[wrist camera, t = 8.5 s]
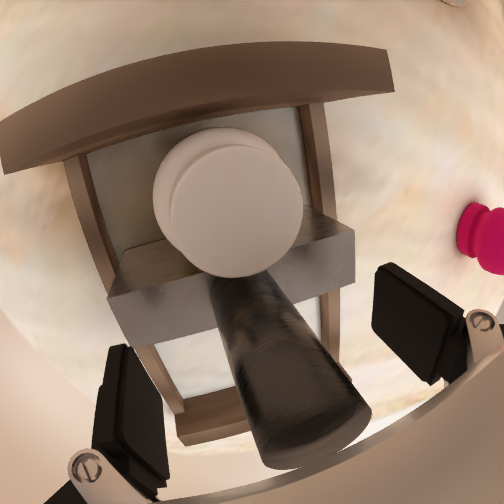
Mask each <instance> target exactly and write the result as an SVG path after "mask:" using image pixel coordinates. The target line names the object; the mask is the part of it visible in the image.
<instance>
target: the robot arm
mask: <svg viewBox="0 0 504 504" xmlns="http://www.w3.org/2000/svg"><path fill="white" fill-rule="evenodd" d="M443 1H444V2H446V3H448V4H450V5H453V6H461V5H465V4H466V3H467V0H443ZM463 313H464V310H463V309H462V308H460V307H459V306H458V305H456V304H455V303H453V302H452V301H450V300H449V299H448V298H446V297H445V296H443V295H442V294H440V293H439V292H437V291H436V290H434V289H433V288H431V287H430V286H428V285H427V284H425V283H424V282H422V281H421V280H419V279H418V278H416V277H415V276H413V275H412V274H410V273H409V272H407V271H405V270H404V269H402V268H401V267H399V266H398V265H396V264H394V263H392V262H389V263H387V264H384V265H381V266H379V267H378V269H377V271H376V273H375V281H374V298H373V311H372V322H371V326H372V329H373V331H374V332H375V333H376V334H377V335H378V336H379V337H380V338H381V339H382V340H383V341H384V342H385V343H386V345H387V346H388V347H389V348H390V349H391V350H392V351H393V352H394V353H395V354H396V355H397V356H398V357H399V358H400V359H401V360H402V361H403V362H404V363H405V364H406V365H407V366H408V367H409V368H410V369H411V370H412V371H413V372H414V373H415V374H416V375H417V376H418V377H419V378H420V379H421V380H422V381H424V382H427V383H428V384H429V385H430V386H431V385H433V384H434V383H436V382H437V381H438V380H440V378H441V377H442V378H443V379H444V389H443V390H442V391H441V392H439V393H438V394H436V395H435V396H434V397H432V398H431V399H429V400H428V401H427V402H425V403H424V404H422V405H421V406H419V407H418V408H416V409H415V410H414V411H412V412H410V413H409V414H407V415H406V416H404V417H402V418H401V419H399V420H397V421H396V422H394V423H393V424H391V425H389V426H387V427H386V428H384V429H382V430H381V431H379V432H377V433H375V434H373V435H372V436H370V437H368V438H366V439H364V440H362V441H360V442H358V443H356V444H354V445H352V446H350V447H348V448H346V449H344V450H342V451H339V452H337V453H335V454H333V455H330V456H328V457H326V458H324V459H321V460H319V461H316V462H314V463H311V464H309V465H306V466H304V467H301V468H298V469H296V470H293V471H290V472H287V473H284V474H281V475H278V476H275V477H272V478H269V479H266V480H262V481H259V482H256V483H252V484H248V485H244V486H240V487H236V488H232V489H227V490H223V491H219V492H214V493H209V494H205V495H199V496H193V497H186V498H179V499H173V500H167V501H162V500H160V499H159V498H158V497H157V495H158V492H157V488H164V487H167V484H166V480H168V479H169V478H170V473H169V465H168V457H167V448H166V438H165V428H164V415H163V402H162V398H161V395H160V393H159V392H158V390H157V388H156V387H155V385H154V384H153V382H152V380H151V379H150V377H149V375H148V374H147V372H146V370H145V369H144V367H143V365H142V363H141V362H140V360H139V358H138V356H137V355H136V353H135V351H134V349H133V348H132V347H131V346H129V347H128V346H127V345H126V344H119V345H115V346H111V347H110V348H109V351H108V356H107V361H106V367H105V372H104V378H103V384H102V385H101V386H100V387H99V391H98V397H97V403H96V410H95V418H94V426H93V436H92V446H91V449H83V450H80V451H78V452H77V453H75V454H74V455H73V456H72V457H71V459H70V461H69V464H68V475H69V477H70V480H69V481H68V482H67V483H66V484H65V485H64V486H62V487H61V488H60V489H59V490H58V491H57V492H56V493H55V494H54V495H53V496H52V497H50V498H49V499H48V500H47V501H46V502H45V503H44V504H504V324H498V321H497V319H496V317H495V316H494V315H493V314H492V313H490V312H488V311H486V310H482V309H475V310H472V311H470V312H469V313H468V314H467V316H466V318H464V317H463Z"/></svg>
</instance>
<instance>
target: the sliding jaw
mask: <svg viewBox="0 0 504 504" xmlns="http://www.w3.org/2000/svg"><path fill="white" fill-rule="evenodd" d="M352 283H355V231H354V230H353V229H351V228H350V227H348V226H346V225H344V224H342V223H340V222H338V221H336V220H334V219H332V218H331V217H329V216H327V215H325V214H323V213H321V212H319V211H317V210H315V209H313V208H311V207H309V206H307V205H305V204H303V216H302V221H301V226H300V229H299V232H298V235H297V237H296V239H295V241H294V243H293V244H292V246H291V247H290V249H289V250H288V251H287V253H286V254H285V255H284V256H283V257H282V258H281V259H280V260H279V261H277V262H276V263H275V264H274V265H272V266H271V267H269V268H268V269H266V270H264V271H262V272H259V273H257V274H254V275H250V276H247V277H239V278H226V277H220V276H215V275H212V274H209V273H207V272H205V271H203V270H201V269H199V268H198V267H196V266H195V265H194V264H192V263H191V262H190V261H189V260H188V259H187V258H186V257H185V256H184V255H183V253H182V252H181V251H179V250H178V249H177V248H176V247H175V246H173V245H172V244H171V243H170V242H169V240H168V239H163V240H160V241H156V242H153V243H149V244H146V245H142V246H139V247H135V248H132V249H128V250H125V251H124V254H123V256H122V259H121V261H120V264H119V266H118V269H117V272H116V274H115V277H114V280H113V282H112V285H111V288H110V291H109V294H108V297H107V301H108V303H109V305H110V307H111V309H112V311H113V313H114V315H115V318H116V320H117V322H118V324H119V326H120V328H121V330H122V332H123V333H124V335H125V337H126V339H127V341H128V343H129V345H130V346H131V347H132V348H133V349H135V348H139V347H144V346H148V345H152V344H156V343H160V342H164V341H168V340H172V339H176V338H180V337H184V336H188V335H192V334H195V333H199V332H203V331H206V330H210V329H214V328H217V327H218V329H219V332H220V336H221V339H222V343H223V346H224V349H225V353H226V356H227V359H228V362H229V366H230V369H231V372H232V375H233V378H234V381H235V384H236V387H237V391H238V394H239V397H240V400H241V403H242V406H243V409H244V411H245V414H246V417H247V420H248V423H249V426H250V429H251V432H252V434H253V437H254V440H255V443H256V445H257V448H258V451H259V454H260V456H261V459H262V461H263V463H264V465H265V466H267V467H269V468H272V469H277V470H288V469H295V468H300V467H304V466H306V465H309V464H311V463H314V462H316V461H319V460H321V459H324V458H326V457H328V456H330V455H333V454H335V453H337V452H338V451H340V450H342V449H343V448H345V447H346V446H347V445H349V444H350V443H351V442H352V441H353V440H355V439H356V438H357V437H358V436H359V435H360V434H361V433H362V432H363V430H364V429H365V428H366V426H367V425H368V423H369V421H370V419H371V415H372V411H371V408H370V407H369V405H368V404H367V403H366V401H365V400H364V399H363V397H362V396H361V395H360V393H359V392H358V391H357V389H356V388H355V387H354V385H353V384H352V383H351V381H350V380H349V379H348V377H347V376H346V375H345V373H344V372H343V371H342V369H341V368H340V367H339V365H338V364H337V363H336V361H335V360H334V359H333V357H332V356H331V355H330V353H329V352H328V351H327V349H326V348H325V347H324V345H323V344H322V343H321V341H320V340H319V339H318V337H317V336H316V335H315V333H314V332H313V331H312V329H311V328H310V327H309V325H308V324H307V323H306V321H305V320H304V319H303V317H302V316H301V315H300V313H299V312H298V311H297V309H296V308H295V307H294V305H293V304H295V303H298V302H301V301H304V300H307V299H310V298H313V297H316V296H319V295H321V294H324V293H327V292H330V291H333V290H336V289H338V288H341V287H344V286H346V285H349V284H352Z"/></svg>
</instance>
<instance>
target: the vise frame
mask: <svg viewBox="0 0 504 504" xmlns="http://www.w3.org/2000/svg"><path fill="white" fill-rule="evenodd" d="M389 92H395V90H394V84H393V79H392V73H391V68H390V63H389V59H388V54H387V50H384V49H378V48H372V47H365V46H357V45H348V44H337V43H323V42H256V43H242V44H231V45H222V46H214V47H207V48H200V49H194V50H188V51H183V52H178V53H173V54H168V55H164V56H159V57H155V58H151V59H147V60H143V61H139V62H136V63H132V64H129V65H125V66H122V67H119V68H116V69H113V70H110V71H107V72H104V73H101V74H98V75H95V76H93V77H90V78H87V79H85V80H82V81H80V82H77V83H75V84H72V85H70V86H68V87H65V88H63V89H61V90H59V91H56V92H54V93H52V94H50V95H48V96H46V97H44V98H42V99H40V100H38V101H36V102H34V103H32V104H30V105H28V106H26V107H24V108H23V109H21V110H19V111H17V112H15V113H14V114H12V115H10V116H9V117H7V118H5V119H4V120H2V121H0V157H1V162H2V167H3V172H4V175H5V174H9V173H13V172H17V171H21V170H25V169H29V168H33V167H37V166H41V165H46V164H51V163H56V162H60V161H63V162H64V167H65V171H66V175H67V179H68V183H69V186H70V190H71V194H72V197H73V201H74V204H75V207H76V211H77V214H78V217H79V220H80V223H81V226H82V229H83V232H84V235H85V238H86V241H87V244H88V246H89V249H90V252H91V254H92V257H93V260H94V262H95V265H96V267H97V270H98V272H99V275H100V277H101V280H102V282H103V284H104V287H105V289H106V291H107V293H108V294H109V291H110V288H111V285H112V282H113V280H114V277H115V274H116V272H117V269H118V266H119V264H118V261H117V258H116V256H115V253H114V250H113V247H112V244H111V241H110V238H109V235H108V232H107V229H106V226H105V223H104V220H103V217H102V214H101V210H100V207H99V204H98V200H97V197H96V193H95V189H94V186H93V182H92V178H91V174H90V170H89V166H88V162H87V158H86V154H87V153H90V152H92V151H95V150H98V149H101V148H103V147H106V146H109V145H112V144H115V143H118V142H121V141H125V140H128V139H131V138H134V137H138V136H141V135H145V134H148V133H152V132H155V131H159V130H163V129H167V128H171V127H175V126H179V125H183V124H188V123H192V122H197V121H201V120H206V119H211V118H216V117H222V116H227V115H233V114H239V113H246V112H252V111H259V110H267V109H275V108H285V107H295V106H299V112H300V118H301V124H302V130H303V137H304V143H305V150H306V157H307V164H308V172H309V180H310V188H311V196H312V205H313V209H315V210H317V211H319V212H321V213H323V214H325V215H327V216H329V217H331V218H332V219H334V220H336V221H337V215H336V202H335V191H334V181H333V171H332V162H331V154H330V146H329V139H328V131H327V125H326V118H325V112H324V105H323V103H325V102H330V101H335V100H341V99H347V98H353V97H359V96H366V95H373V94H381V93H389ZM320 305H321V328H322V344H323V345H324V347H325V348H326V349H327V351H328V352H329V353H330V355H331V356H332V357H333V359H334V360H335V361H336V363H337V364H338V365H339V367H340V368H341V369H342V371H343V372H344V373H345V375H346V376H347V377H348V379H349V380H350V381H351V383H352V379H351V378H350V376H349V375H348V374H347V372H346V371H345V370H344V368H343V367H342V366H341V364H340V363H339V343H340V288H338V289H336V290H333V291H330V292H327V293H324V294H321V295H320ZM135 350H136V352H137V354H138V356H139V358H140V359H141V361H142V363H143V365H144V366H145V368H146V370H147V372H148V373H149V375H150V377H151V378H152V380H153V382H154V383H155V385H156V387H157V388H158V390H159V391H160V393H161V395H162V396H163V398H164V399H165V401H166V402H167V404H168V405H169V407H170V408H171V410H172V411H173V413H174V415H175V423H176V431H177V437H178V438H179V439H180V441H181V442H182V443H183V444H184V446H191V445H196V444H200V443H205V442H209V441H214V440H218V439H222V438H226V437H230V436H234V435H237V434H241V433H244V432H248V431H251V429H250V426H249V423H248V420H247V417H246V414H245V411H244V409H243V406H242V403H241V400H240V397H239V394H238V391H237V387H236V386H235V387H232V388H228V389H224V390H221V391H217V392H213V393H209V394H206V395H202V396H197V397H193V398H189V399H185V400H183V398H182V397H181V395H180V393H179V392H178V390H177V388H176V386H175V385H174V383H173V381H172V379H171V377H170V375H169V374H168V372H167V370H166V368H165V366H164V364H163V362H162V360H161V358H160V357H159V355H158V353H157V351H156V349H155V347H154V345H153V344H152V345H148V346H144V347H139V348H135Z"/></svg>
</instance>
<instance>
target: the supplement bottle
mask: <svg viewBox="0 0 504 504" xmlns="http://www.w3.org/2000/svg"><path fill="white" fill-rule="evenodd" d="M153 207H154V213H155V216H156V219H157V222H158V225H159V227H160V228H161V230H162V232H163V234H164V235H165V237H166V238H167V239H168V240H169V242H170V243H171V244H172V245H173V246H175V247H176V248H177V249H178V250H179V251H181V252H182V253H183V255H184V256H185V257H186V258H187V259H188V260H189V261H190V262H191V263H192V264H194V265H195V266H196V267H198V268H199V269H201V270H203V271H205V272H207V273H209V274H212V275H215V276H220V277H226V278H239V277H247V276H250V275H254V274H257V273H259V272H262V271H264V270H266V269H268V268H269V267H271V266H272V265H274V264H275V263H276V262H277V261H279V260H280V259H281V258H282V257H283V256H284V255H285V254H286V253H287V251H288V250H289V249H290V247H291V246H292V244H293V243H294V241H295V239H296V237H297V235H298V232H299V229H300V226H301V221H302V216H303V201H302V195H301V191H300V187H299V185H298V182H297V180H296V178H295V177H294V175H293V173H292V172H291V171H290V169H289V168H288V167H287V165H286V164H285V163H284V162H282V160H281V158H280V157H279V155H278V154H277V152H276V151H275V150H274V149H273V148H272V147H271V146H270V145H269V144H268V143H267V142H266V141H265V140H263V139H262V138H260V137H259V136H257V135H255V134H253V133H251V132H248V131H245V130H242V129H238V128H232V127H215V128H209V129H204V130H201V131H198V132H196V133H193V134H191V135H189V136H188V137H186V138H184V139H183V140H181V141H180V142H179V143H177V144H176V145H175V146H174V147H173V148H172V149H171V150H170V151H169V152H168V153H167V155H166V156H165V158H164V159H163V161H162V162H161V164H160V166H159V168H158V171H157V174H156V177H155V180H154V185H153Z"/></svg>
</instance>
